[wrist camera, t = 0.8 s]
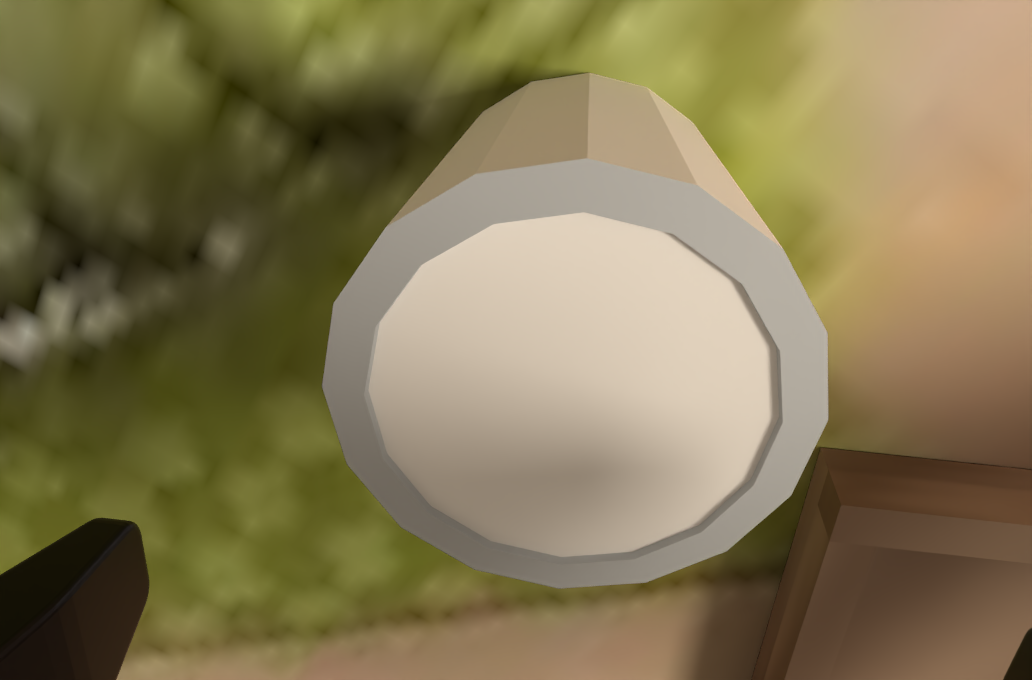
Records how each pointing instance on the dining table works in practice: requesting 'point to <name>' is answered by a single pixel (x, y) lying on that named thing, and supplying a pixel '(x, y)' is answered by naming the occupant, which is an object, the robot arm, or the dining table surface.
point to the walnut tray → (904, 572)
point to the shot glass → (578, 347)
